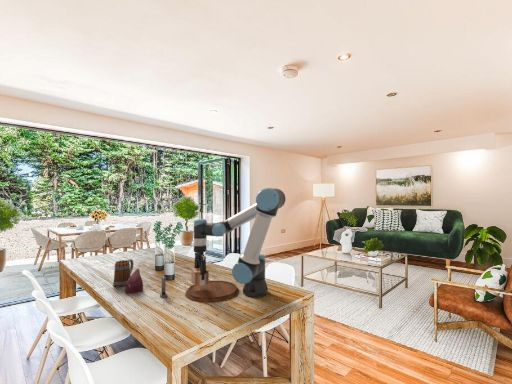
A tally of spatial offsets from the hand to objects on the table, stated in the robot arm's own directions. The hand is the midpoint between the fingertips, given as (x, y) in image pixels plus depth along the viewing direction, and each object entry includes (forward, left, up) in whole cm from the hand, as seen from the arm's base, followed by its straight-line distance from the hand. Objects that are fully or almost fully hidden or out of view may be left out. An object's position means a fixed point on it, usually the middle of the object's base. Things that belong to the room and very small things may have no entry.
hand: (200, 282), depth 160 cm
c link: (0, 0, 0) cm, 0 cm away
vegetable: (+24, +34, -6) cm, 42 cm away
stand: (+6, +20, -6) cm, 22 cm away
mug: (+43, +38, -6) cm, 58 cm away
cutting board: (-2, -7, -7) cm, 10 cm away
